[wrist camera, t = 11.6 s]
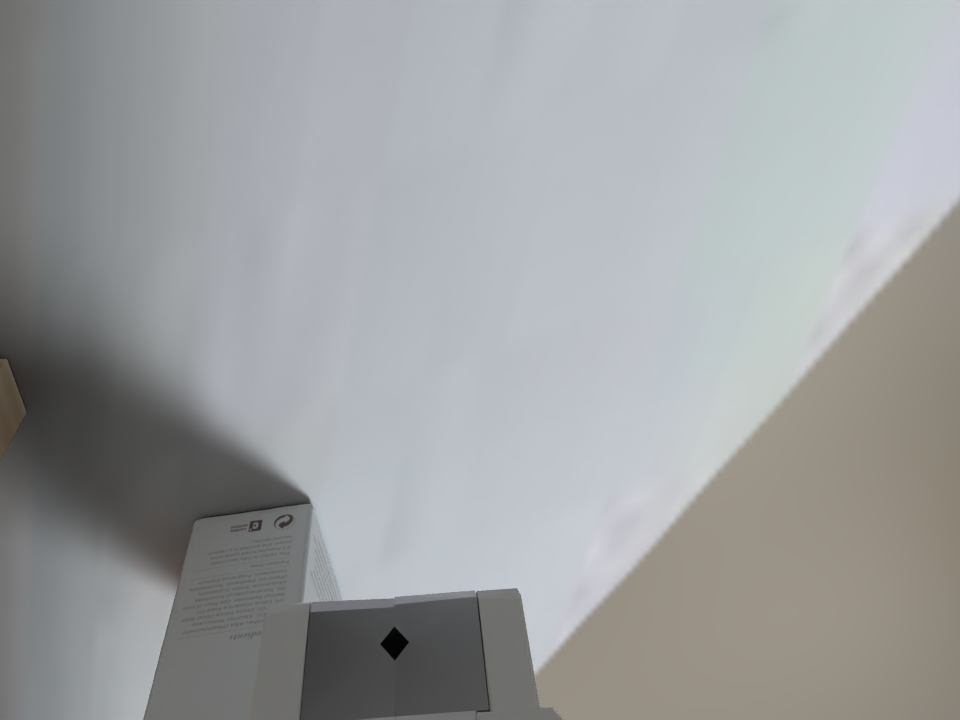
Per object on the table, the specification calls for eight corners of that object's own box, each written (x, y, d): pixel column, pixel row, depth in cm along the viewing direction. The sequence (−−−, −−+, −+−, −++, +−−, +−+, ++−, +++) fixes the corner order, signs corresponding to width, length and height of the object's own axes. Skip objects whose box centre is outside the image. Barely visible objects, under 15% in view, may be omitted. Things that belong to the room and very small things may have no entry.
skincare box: (190, 516, 29) (89, 892, 19) (313, 498, 29) (277, 863, 19) (238, 629, 33) (174, 998, 23) (349, 613, 33) (333, 974, 23)
